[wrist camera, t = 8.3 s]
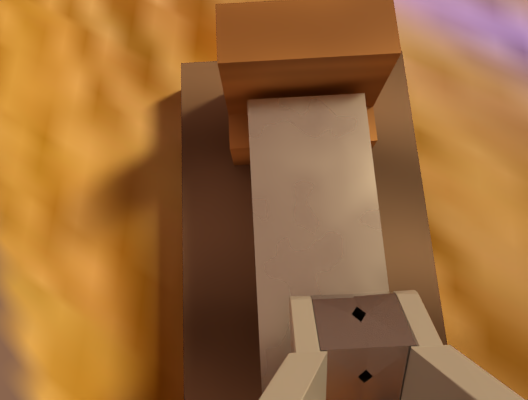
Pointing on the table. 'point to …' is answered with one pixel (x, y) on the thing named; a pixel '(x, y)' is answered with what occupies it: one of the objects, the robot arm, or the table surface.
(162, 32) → the table surface
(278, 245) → the steel arm
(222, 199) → the slicer board
